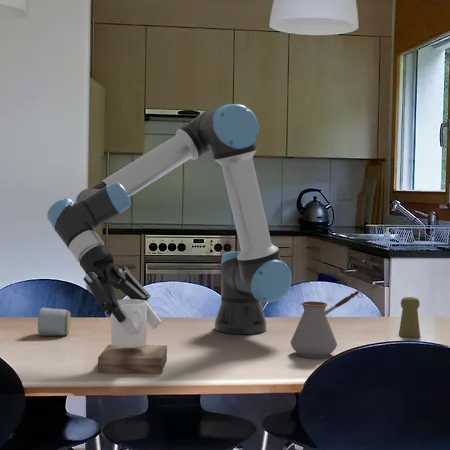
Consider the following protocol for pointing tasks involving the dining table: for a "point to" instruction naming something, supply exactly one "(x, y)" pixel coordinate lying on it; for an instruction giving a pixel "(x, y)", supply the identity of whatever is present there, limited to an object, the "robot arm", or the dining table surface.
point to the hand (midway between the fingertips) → (145, 328)
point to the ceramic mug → (53, 322)
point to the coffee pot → (316, 330)
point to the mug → (139, 316)
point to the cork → (409, 318)
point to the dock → (133, 359)
